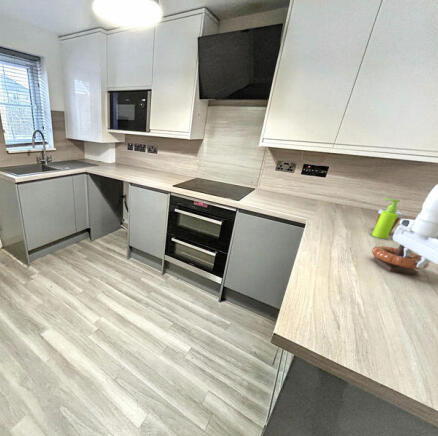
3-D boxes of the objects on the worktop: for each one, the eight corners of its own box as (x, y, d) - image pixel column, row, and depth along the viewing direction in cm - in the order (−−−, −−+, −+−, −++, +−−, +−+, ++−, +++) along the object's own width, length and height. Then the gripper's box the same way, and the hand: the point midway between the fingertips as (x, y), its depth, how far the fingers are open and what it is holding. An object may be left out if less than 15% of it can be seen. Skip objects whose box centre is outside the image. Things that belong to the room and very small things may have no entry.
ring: (402, 255, 98) (405, 247, 97) (438, 273, 84) (443, 264, 83) (361, 250, 100) (364, 242, 99) (390, 267, 86) (394, 258, 85)
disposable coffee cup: (397, 236, 124) (408, 215, 119) (375, 233, 127) (384, 212, 122) (387, 230, 132) (397, 210, 128) (367, 227, 135) (375, 207, 131)
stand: (397, 262, 97) (413, 230, 91) (416, 275, 88) (435, 240, 83) (372, 259, 98) (387, 227, 93) (389, 271, 90) (406, 237, 84)
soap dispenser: (367, 232, 127) (383, 197, 120) (384, 235, 124) (401, 199, 117) (371, 236, 122) (388, 199, 115) (388, 239, 119) (407, 202, 112)
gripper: (474, 243, 71) (450, 281, 76) (415, 219, 90) (399, 251, 95) (450, 240, 72) (428, 278, 77) (397, 217, 91) (382, 249, 96)
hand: (412, 263), depth 86 cm, fingers closed on ring, 4 cm apart
